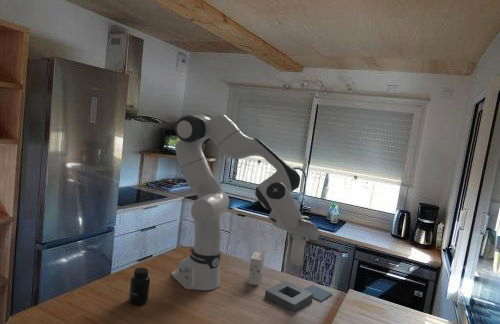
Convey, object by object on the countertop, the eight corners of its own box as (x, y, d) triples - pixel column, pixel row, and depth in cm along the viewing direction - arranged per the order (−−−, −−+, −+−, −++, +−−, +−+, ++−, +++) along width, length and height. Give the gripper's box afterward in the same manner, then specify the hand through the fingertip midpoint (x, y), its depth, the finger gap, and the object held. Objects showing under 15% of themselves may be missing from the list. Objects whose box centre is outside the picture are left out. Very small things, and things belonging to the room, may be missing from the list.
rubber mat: (300, 292, 147) (300, 290, 146) (312, 285, 154) (312, 284, 154) (320, 301, 140) (321, 300, 140) (332, 294, 148) (332, 293, 148)
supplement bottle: (127, 306, 121) (130, 274, 120) (129, 297, 127) (131, 266, 126) (148, 306, 123) (150, 274, 121) (148, 296, 129) (151, 266, 128)
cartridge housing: (264, 297, 139) (265, 290, 139) (284, 287, 150) (285, 280, 149) (293, 312, 130) (294, 304, 130) (312, 300, 141) (313, 293, 140)
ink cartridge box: (251, 275, 157) (255, 245, 156) (261, 277, 156) (265, 247, 155) (247, 283, 149) (251, 251, 147) (258, 286, 148) (262, 253, 146)
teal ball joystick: (287, 262, 138) (291, 229, 137) (294, 259, 142) (298, 227, 141) (298, 266, 135) (302, 232, 134) (304, 263, 139) (309, 230, 137)
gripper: (317, 217, 124) (326, 238, 133) (272, 204, 137) (283, 224, 146) (309, 230, 121) (319, 251, 130) (264, 216, 135) (276, 236, 143)
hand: (300, 237), depth 138 cm, fingers closed on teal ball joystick, 5 cm apart
